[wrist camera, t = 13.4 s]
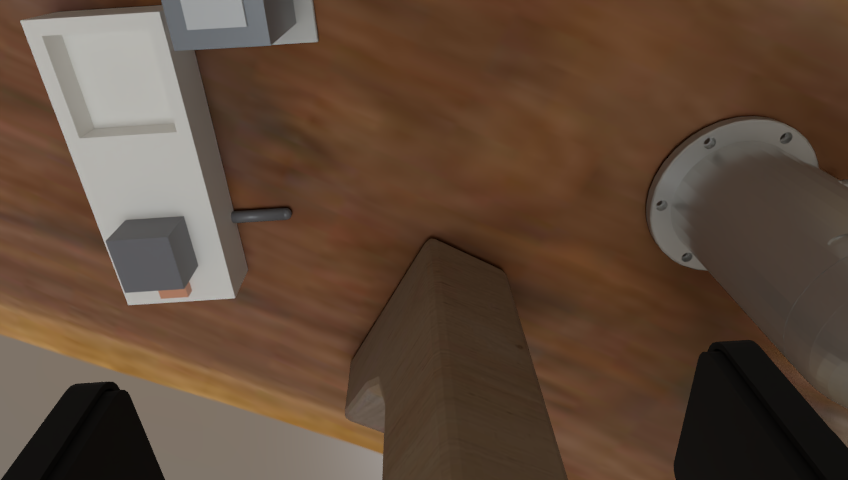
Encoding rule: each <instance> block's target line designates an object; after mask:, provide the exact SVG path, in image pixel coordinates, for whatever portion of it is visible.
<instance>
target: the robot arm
mask: <svg viewBox="0 0 848 480" xmlns="http://www.w3.org/2000/svg"><path fill="white" fill-rule="evenodd" d="M706 139H707V140H706ZM705 140H706V141H705ZM646 219H647V223H648V228H649V231H650V233H651V235H652V237H653V239H654V241H655V242H656V244H657V245H658V246H659V247H660V249H661V250H662V251H663V252H664V253H665V254H666V255H667V256H668V257H670V258H671V259H672V260H673V261H675V262H677V263H679V264H680V265H683V266H686V267H689V268H693V269H696V270H706V271H709V273H710V274H711V275H712V276H713V277H714V278H715V279H716V280H717V281H718V283H719V284H720V285H721V286H722V287H723V288H724V289H725V290H726V292H727V293H728V294H729V295H730V296H731V297H732V298H733V299H734V300H735V302H736V303H737V304H738V305H739V306H740V307H741V308H742V309H743V310H744V312H745V313H746V314H747V315H748V316H749V317H750V318H751V319H752V320H753V322H754V323H755V324H756V325H757V326H758V327H759V328H760V329H761V330H762V332H763V333H764V334H765V335H766V336H767V337H768V338H769V339H770V341H771V342H772V343H773V344H774V345H775V346H776V347H777V348H778V349H779V351H780V352H781V353H782V354H783V355H784V356H785V357H786V358H787V359H788V361H789V362H790V363H791V364H792V365H793V366H794V367H795V368H796V369H797V370H798V371H799V373H800V374H801V375H802V376H803V377H804V378H805V379H806V380H807V381H808V382H809V383H810V384H811V385H812V386H813V387H814V388H815V389H816V390H818V391H819V392H820V393H822V394H823V395H825V396H826V397H827V398H829V399H830V400H832V401H834V402H836V403H838V404H840V405H842V406H844V407H845V408H848V179H846V180H842V181H840V180H838V179H836V178H835V177H833V176H831V175H829V174H828V173H826V172H824V171H822V170H821V169H819V166H818V161H817V158H816V154H815V151H814V149H813V148H812V146H811V145H810V143H809V142H808V140H807V139H806V138H805V137H804V136H803V135H802V134H801V133H799V132H798V131H797V130H796V129H794V128H792V127H790V126H788V125H786V124H785V123H782V122H780V121H777V120H774V119H771V118H766V117H759V116H746V117H736V118H732V119H727V120H723V121H720V122H718V123H715V124H713V125H710V126H708V127H706V128H704V129H702V130H700V131H699V132H697V133H696V134H694V135H692V136H691V137H689V138H688V139H687V140H685V141H684V142H683V143H682V144H681V145H679V146H678V147H677V148H676V149H675V150H674V151H673V152H672V153H671V154H670V156H669V157H668V158H667V159H666V160H665V161H664V163H663V164H662V166H661V167H660V169H659V171H658V172H657V174H656V175H655V177H654V180H653V182H652V185H651V187H650V190H649V193H648V198H647V203H646ZM674 473H675V478H676V480H848V448H847V447H846V445H845V444H844V443H843V442H842V441H841V440H840V438H839V437H838V436H837V435H836V434H835V433H834V432H833V431H832V430H831V429H830V428H829V427H828V426H827V424H826V423H825V422H824V421H823V420H822V419H821V417H820V416H819V415H818V414H817V413H816V412H815V410H814V409H813V408H812V407H811V406H810V405H809V403H808V402H807V401H806V400H805V399H804V398H803V396H802V395H801V394H800V393H799V392H798V391H797V389H796V388H795V387H794V386H793V385H792V384H791V382H790V381H789V380H788V379H787V378H786V377H785V375H784V374H783V373H782V372H781V371H780V370H779V369H778V367H777V366H776V365H775V364H774V363H773V362H772V360H771V359H770V358H769V357H768V356H767V355H766V353H765V352H764V351H763V350H762V349H761V348H760V346H759V345H757V344H756V343H755V342H754V341H751V340H741V341H726V342H715V343H712V344H711V345H710V347H709V349H708V352H702V353H701V354H700V356H699V359H698V363H697V367H696V371H695V375H694V380H693V384H692V388H691V392H690V397H689V401H688V405H687V410H686V414H685V418H684V422H683V427H682V431H681V435H680V439H679V444H678V448H677V452H676V456H675V461H674ZM1 480H165V479H164V476H163V474H162V472H161V469H160V467H159V464H158V462H157V460H156V457H155V455H154V453H153V450H152V448H151V445H150V443H149V440H148V438H147V436H146V433H145V431H144V428H143V426H142V424H141V421H140V419H139V416H138V414H137V412H136V409H135V407H134V405H133V402H132V400H131V397H130V395H129V394H128V392H126V391H125V390H120V389H119V387H118V386H117V384H115V383H114V382H97V383H81V384H75V385H72V386H70V387H69V388H68V389H67V391H66V392H65V393H64V394H63V396H62V397H61V398H60V400H59V401H58V403H57V404H56V405H55V407H54V408H53V409H52V411H51V412H50V414H49V415H48V416H47V418H46V419H45V420H44V422H43V423H42V424H41V426H40V427H39V429H38V430H37V431H36V433H35V434H34V435H33V437H32V438H31V439H30V441H29V442H28V444H27V445H26V446H25V448H24V449H23V450H22V452H21V453H20V454H19V456H18V457H17V459H16V460H15V461H14V463H13V464H12V466H11V467H10V468H9V469H8V471H7V472H6V474H5V475H4V476H3V478H2V479H1Z"/></svg>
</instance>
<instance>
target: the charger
mask: <svg viewBox="0 0 848 480" xmlns="http://www.w3.org/2000/svg"><path fill="white" fill-rule="evenodd" d="M161 1H162V5H163V9H164V13H165V17H166V21H167V25H168V29H169V32H170V36H171V40H172V44H173V48H174V51H184V50H201V49H219V48H236V47H253V46H271V45H272V44H273V43H274V42H275V41H277V40H278V39H279V38H280V37H281V36H282V35H284V34H285V33H286V32H287V31H288V30H289V29H290V28H292V27H293V26H294V25H295V24H296V17H295V10H294V3H293V0H161Z"/></svg>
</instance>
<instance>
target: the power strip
mask: <svg viewBox="0 0 848 480" xmlns="http://www.w3.org/2000/svg"><path fill="white" fill-rule="evenodd" d="M20 22H21V24H22V27H23V30H24V32H25V35H26V38H27V40H28V43H29V45H30V48H31V51H32V53H33V56H34V59H35V61H36V64H37V66H38V69H39V72H40V74H41V77H42V80H43V82H44V85H45V87H46V90H47V93H48V95H49V98H50V101H51V103H52V106H53V109H54V111H55V114H56V116H57V119H58V122H59V124H60V127H61V130H62V132H63V135H64V137H65V140H66V143H67V145H68V148H69V151H70V153H71V156H72V158H73V161H74V164H75V166H76V169H77V172H78V174H79V177H80V180H81V182H82V185H83V187H84V190H85V193H86V195H87V198H88V201H89V203H90V206H91V208H92V211H93V214H94V216H95V219H96V222H97V224H98V227H99V229H100V232H101V235H102V237H103V240H104V243H105V245H106V248H107V251H108V253H109V256H110V258H111V261H112V264H113V266H114V269H115V272H116V274H117V277H118V279H119V282H120V285H121V287H122V290H123V293H124V295H125V298H126V300H127V303H128V305H138V304H154V303H169V302H184V301H200V300H215V299H231V298H236V295H237V293H238V291H239V289H240V287H241V284H242V282H243V280H244V278H245V276H246V273H247V271H248V267H247V263H246V259H245V255H244V251H243V247H242V243H241V239H240V235H239V230H238V226H237V223H243V222H258V221H274V220H287V219H289V218H290V217H291V215H292V212H291V210H290V209H288V208H276V209H260V210H245V211H234V210H233V206H232V202H231V198H230V194H229V190H228V185H227V181H226V177H225V173H224V169H223V165H222V161H221V157H220V153H219V149H218V145H217V140H216V136H215V132H214V128H213V124H212V120H211V116H210V112H209V108H208V104H207V100H206V95H205V91H204V87H203V83H202V79H201V75H200V71H199V67H198V63H197V59H196V55H195V50H184V51H174V48H173V44H172V40H171V36H170V32H169V29H168V25H167V21H166V17H165V13H164V9H163V5H156V6H140V7H125V8H109V9H93V10H78V11H62V12H55V13H50V14H46V15H42V16H37V17H33V18H29V19H25V20H20Z"/></svg>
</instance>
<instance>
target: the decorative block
mask: <svg viewBox="0 0 848 480" xmlns="http://www.w3.org/2000/svg"><path fill="white" fill-rule="evenodd" d="M345 416H346V418H347V419H348V420H350V421H352V422H355V423H358V424H361V425H363V426H366V427H369V428H372V429H375V430H377V431H380V432H383V433H384V452H383V480H568V478H567V475H566V472H565V468H564V465H563V462H562V458H561V455H560V452H559V449H558V445H557V442H556V439H555V435H554V432H553V429H552V425H551V422H550V419H549V415H548V412H547V409H546V405H545V402H544V399H543V395H542V392H541V389H540V385H539V382H538V379H537V375H536V372H535V369H534V365H533V362H532V359H531V356H530V352H529V349H528V346H527V342H526V339H525V336H524V332H523V329H522V326H521V322H520V319H519V316H518V312H517V309H516V306H515V302H514V299H513V296H512V292H511V289H510V286H509V282H508V279H507V276H506V274H505V273H504V272H503V271H502V270H500V269H498V268H496V267H494V266H492V265H490V264H487V263H485V262H483V261H481V260H479V259H477V258H475V257H472V256H470V255H468V254H466V253H464V252H462V251H460V250H457V249H455V248H453V247H451V246H449V245H447V244H444V243H442V242H440V241H438V240H436V239H429V240H428V241H427V242H426V243H425V244H424V246H423V247H422V249H421V250H420V252H419V254H418V255H417V257H416V258H415V260H414V262H413V263H412V265H411V266H410V268H409V270H408V271H407V273H406V274H405V276H404V278H403V279H402V281H401V282H400V284H399V286H398V287H397V289H396V291H395V292H394V294H393V295H392V297H391V299H390V300H389V302H388V303H387V305H386V307H385V308H384V310H383V311H382V313H381V315H380V316H379V318H378V320H377V321H376V323H375V324H374V326H373V328H372V329H371V331H370V332H369V334H368V336H367V337H366V339H365V341H364V342H363V344H362V345H361V347H360V349H359V350H358V352H357V353H356V355H355V357H354V358H353V360H352V362H351V365H350V374H349V382H348V390H347V399H346V407H345Z"/></svg>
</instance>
